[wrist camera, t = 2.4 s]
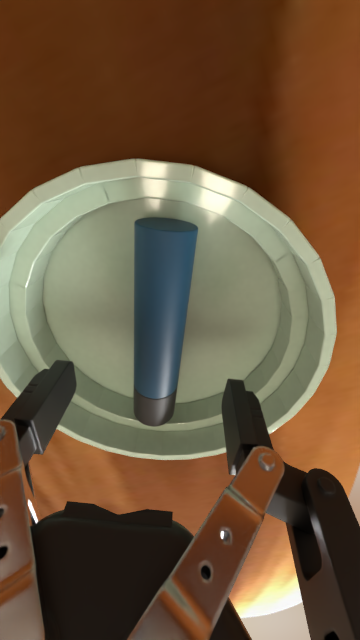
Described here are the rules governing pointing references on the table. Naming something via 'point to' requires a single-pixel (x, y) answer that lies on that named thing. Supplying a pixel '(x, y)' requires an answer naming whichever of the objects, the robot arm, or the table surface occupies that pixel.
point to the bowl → (203, 308)
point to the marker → (160, 312)
